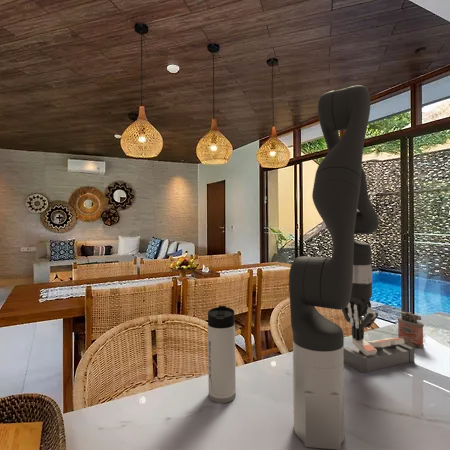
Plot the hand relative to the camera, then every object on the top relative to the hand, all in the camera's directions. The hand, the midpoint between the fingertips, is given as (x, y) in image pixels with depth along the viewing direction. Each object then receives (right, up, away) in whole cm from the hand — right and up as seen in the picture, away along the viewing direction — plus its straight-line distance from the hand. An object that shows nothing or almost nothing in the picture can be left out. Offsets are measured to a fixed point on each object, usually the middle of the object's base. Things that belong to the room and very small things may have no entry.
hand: (357, 339), depth 88 cm
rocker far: (+10, -1, +1) cm, 10 cm away
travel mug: (-39, -7, -17) cm, 43 cm away
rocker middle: (+5, -1, -1) cm, 6 cm away
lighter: (+22, -6, +11) cm, 25 cm away
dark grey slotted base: (+6, -6, -1) cm, 8 cm away
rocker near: (+1, -1, -2) cm, 3 cm away
